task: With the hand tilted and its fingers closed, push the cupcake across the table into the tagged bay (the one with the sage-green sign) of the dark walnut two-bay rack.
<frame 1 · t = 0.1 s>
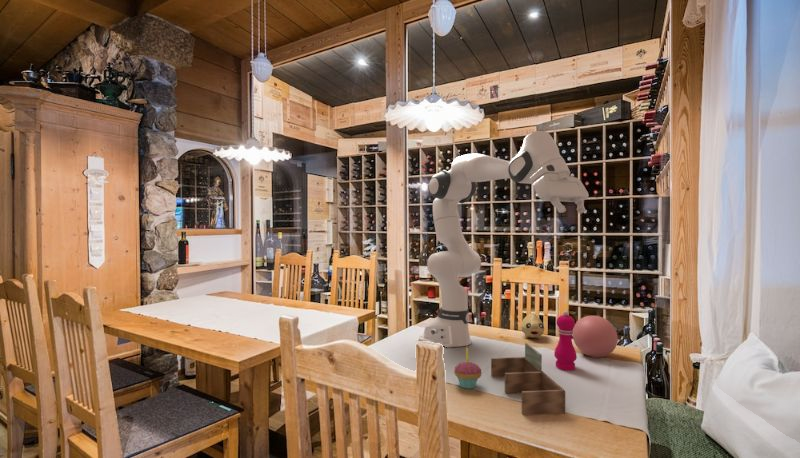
hand: (572, 212, 119), 54 cm above the table, tool tilted 30°, fingers open, 8 cm apart
balloon: (591, 354, 152), on the table
pepper mill: (565, 367, 139), on the table
beige toy head: (532, 338, 173), on the table
cupcake: (468, 386, 123), on the table
walnut rack: (524, 392, 118), on the table
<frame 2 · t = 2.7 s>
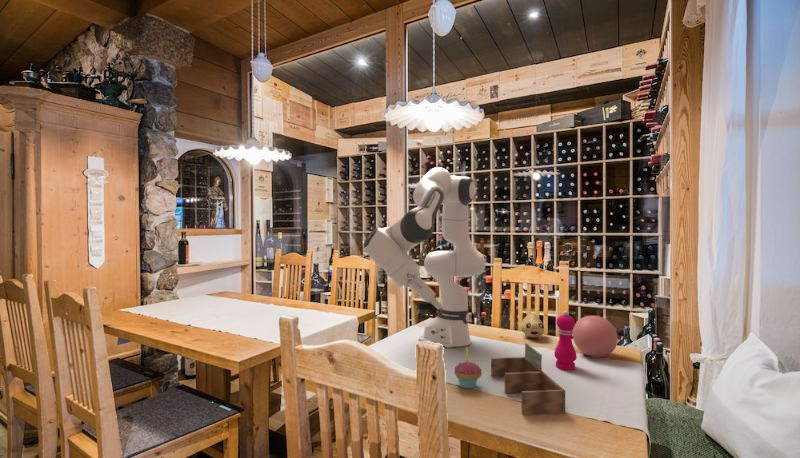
hand: (436, 304, 122), 26 cm above the table, tool tilted 45°, fingers open, 8 cm apart
nothing on the table moved.
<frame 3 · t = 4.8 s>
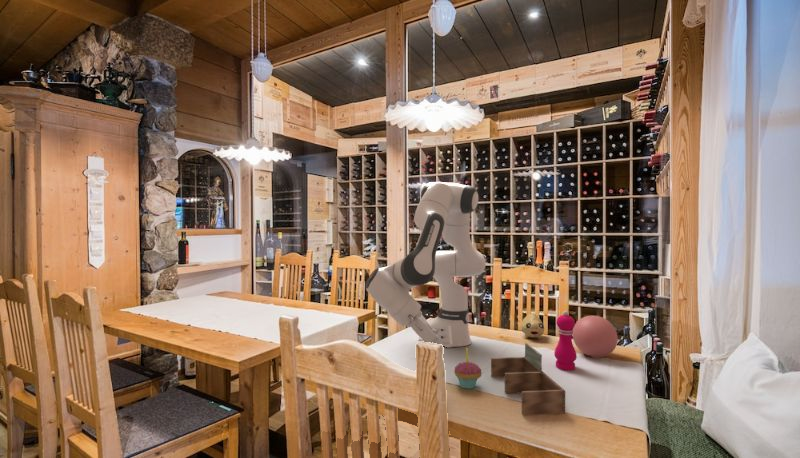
hand: (438, 343, 122), 14 cm above the table, tool tilted 45°, fingers closed
nothing on the table moved.
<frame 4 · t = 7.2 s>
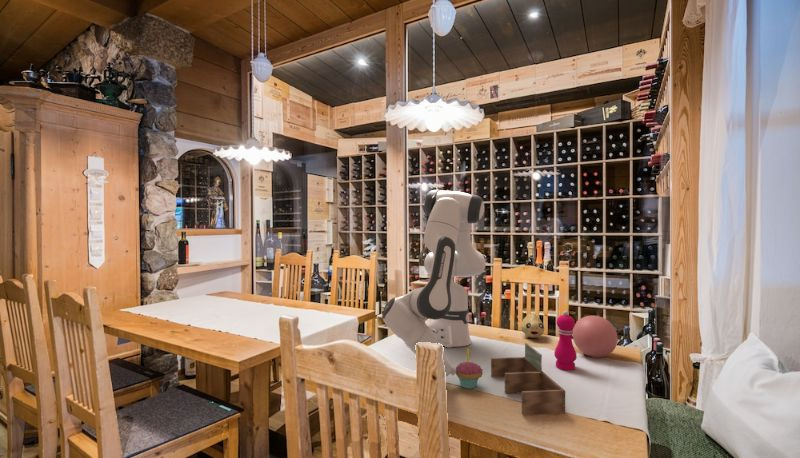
hand: (454, 372, 123), 4 cm above the table, tool tilted 45°, fingers closed, pressing on cupcake
cupcake: (469, 386, 123), on the table, touching gripper
everything else where it was.
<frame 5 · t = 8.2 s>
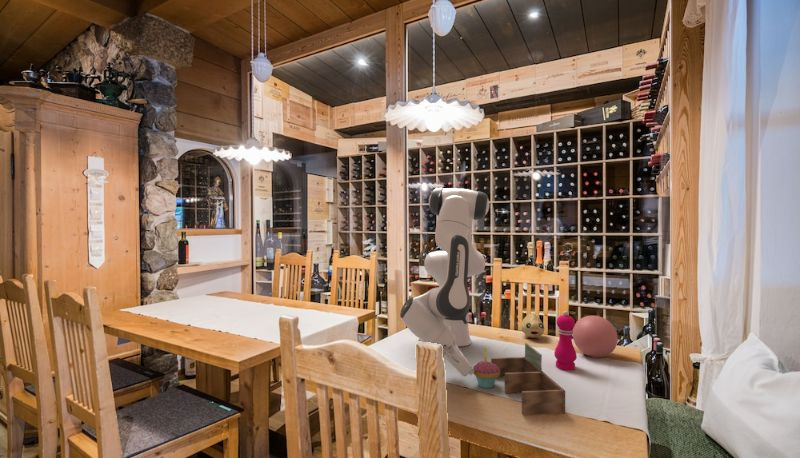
hand: (471, 371, 123), 4 cm above the table, tool tilted 45°, fingers closed, pressing on cupcake
cupcake: (486, 385, 124), on the table, touching gripper
everything else where it was.
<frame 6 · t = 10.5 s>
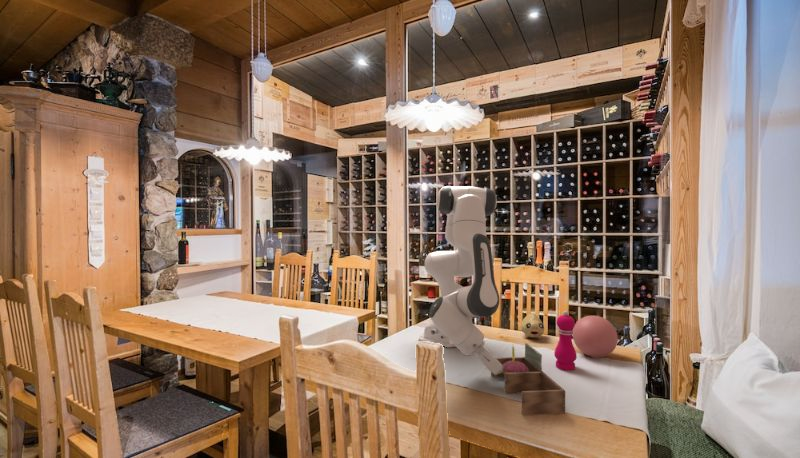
hand: (500, 370, 124), 4 cm above the table, tool tilted 45°, fingers closed, pressing on cupcake
cupcake: (514, 384, 124), on the table, touching gripper
everything else where it was.
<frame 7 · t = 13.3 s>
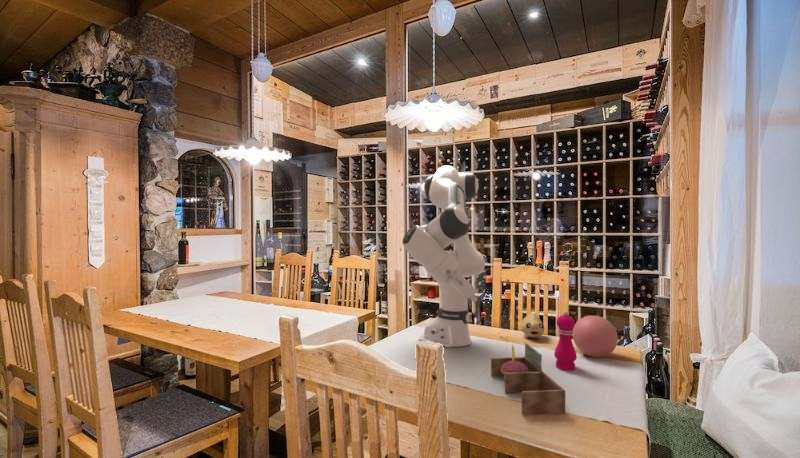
hand: (475, 299, 123), 27 cm above the table, tool tilted 45°, fingers closed
cupcake: (514, 384, 124), on the table
everything else where it was.
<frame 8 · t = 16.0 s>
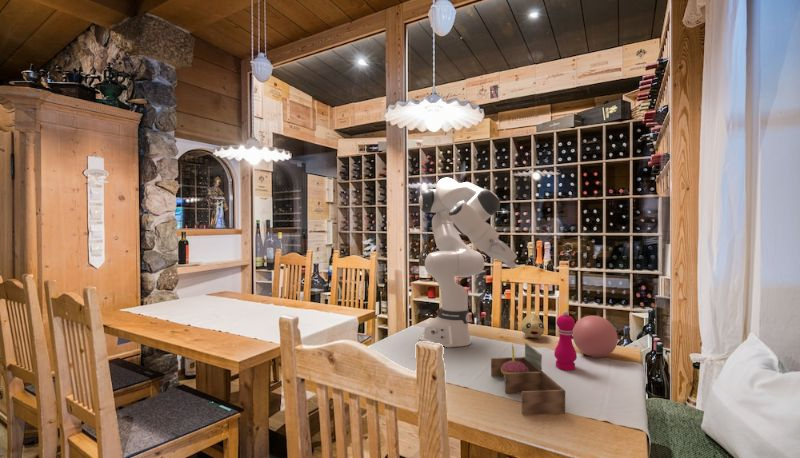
hand: (513, 266, 139), 35 cm above the table, tool tilted 45°, fingers closed
nothing on the table moved.
at the end: cupcake 0.5 cm from the target spot on the walnut rack, point 0.0 cm above the walnut rack's base; cupcake tilted 0°; the gripper is holding nothing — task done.
